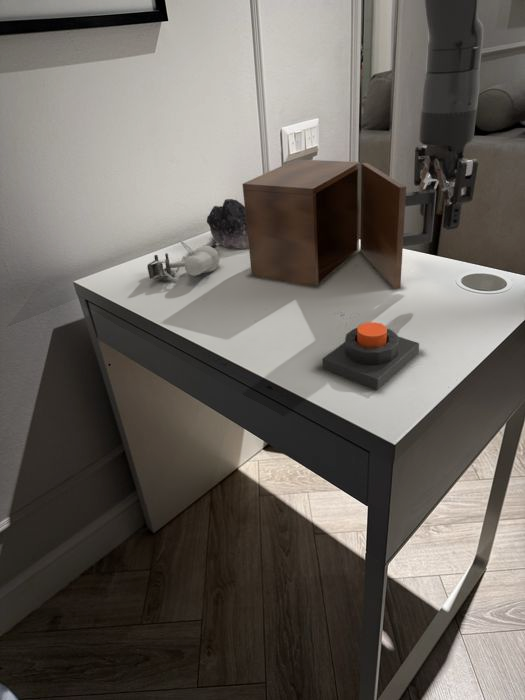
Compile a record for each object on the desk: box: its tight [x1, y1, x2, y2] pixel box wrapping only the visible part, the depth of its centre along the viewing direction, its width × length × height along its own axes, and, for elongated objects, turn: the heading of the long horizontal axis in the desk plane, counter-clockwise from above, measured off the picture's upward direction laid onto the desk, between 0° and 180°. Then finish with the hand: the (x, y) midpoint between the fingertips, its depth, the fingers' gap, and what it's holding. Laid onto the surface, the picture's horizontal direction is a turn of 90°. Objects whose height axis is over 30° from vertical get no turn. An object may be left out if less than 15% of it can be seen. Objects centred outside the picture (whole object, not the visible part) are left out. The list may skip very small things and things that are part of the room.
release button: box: [356, 321, 388, 347], centre depth 65 cm, size 4×4×2 cm
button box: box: [322, 327, 420, 391], centre depth 66 cm, size 10×8×4 cm
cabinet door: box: [359, 162, 437, 290], centre depth 88 cm, size 7×18×17 cm, turn 9°
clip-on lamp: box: [146, 238, 221, 282], centre depth 98 cm, size 12×6×18 cm
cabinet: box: [242, 159, 361, 288], centre depth 92 cm, size 13×18×17 cm
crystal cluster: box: [206, 198, 249, 249], centre depth 110 cm, size 13×14×10 cm
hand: (438, 221), depth 82 cm, fingers open, 7 cm apart
